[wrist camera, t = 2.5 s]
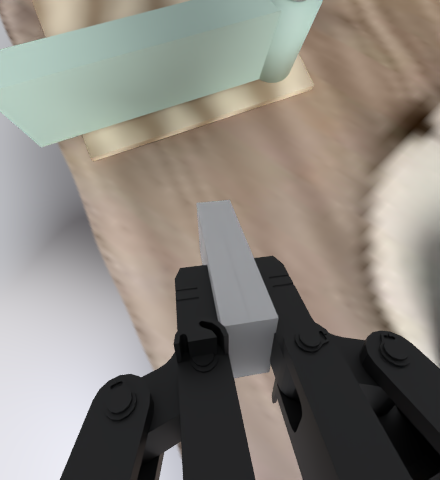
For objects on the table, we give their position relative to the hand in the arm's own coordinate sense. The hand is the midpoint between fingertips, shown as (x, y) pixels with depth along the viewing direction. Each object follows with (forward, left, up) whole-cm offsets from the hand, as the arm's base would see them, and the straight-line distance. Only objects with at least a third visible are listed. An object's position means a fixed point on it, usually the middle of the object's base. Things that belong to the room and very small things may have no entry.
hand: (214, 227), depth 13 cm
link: (-3, -17, -14) cm, 23 cm away
